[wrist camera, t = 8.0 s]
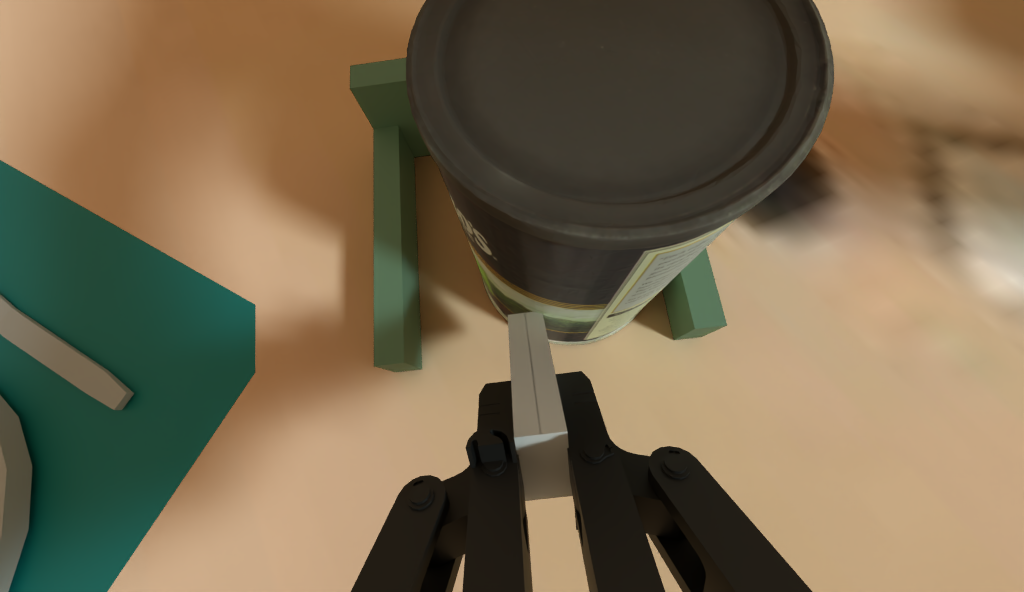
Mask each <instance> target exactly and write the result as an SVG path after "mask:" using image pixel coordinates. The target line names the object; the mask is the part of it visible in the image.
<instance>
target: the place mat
mask: <svg viewBox="0 0 1024 592" xmlns="http://www.w3.org/2000/svg"><path fill="white" fill-rule="evenodd" d="M254 373H255V304H253V303H251V302H249V301H247V300H246V299H244V298H242V297H240V296H239V295H237V294H235V293H233V292H232V291H230V290H228V289H226V288H225V287H223V286H221V285H219V284H217V283H216V282H214V281H212V280H210V279H209V278H207V277H205V276H203V275H202V274H200V273H198V272H196V271H195V270H193V269H191V268H189V267H187V266H186V265H184V264H182V263H180V262H179V261H177V260H175V259H173V258H172V257H170V256H168V255H166V254H165V253H163V252H161V251H159V250H158V249H156V248H154V247H152V246H150V245H149V244H147V243H145V242H143V241H142V240H140V239H138V238H136V237H135V236H133V235H131V234H129V233H128V232H126V231H124V230H122V229H120V228H119V227H117V226H115V225H113V224H112V223H110V222H108V221H106V220H105V219H103V218H101V217H99V216H98V215H96V214H94V213H92V212H90V211H89V210H87V209H85V208H83V207H82V206H80V205H78V204H76V203H75V202H73V201H71V200H69V199H68V198H66V197H64V196H62V195H61V194H59V193H57V192H55V191H53V190H52V189H50V188H48V187H46V186H45V185H43V184H41V183H39V182H38V181H36V180H34V179H32V178H31V177H29V176H27V175H25V174H23V173H22V172H20V171H18V170H16V169H15V168H13V167H11V166H9V165H8V164H6V163H4V162H2V161H1V160H0V592H107V591H108V590H109V588H110V587H111V585H112V584H113V582H114V581H115V579H116V578H117V576H118V575H119V573H120V572H121V570H122V569H123V567H124V566H125V564H126V563H127V562H128V560H129V559H130V557H131V556H132V554H133V553H134V551H135V550H136V548H137V547H138V545H139V544H140V542H141V541H142V539H143V538H144V536H145V535H146V533H147V532H148V530H149V529H150V527H151V526H152V524H153V523H154V522H155V520H156V519H157V517H158V516H159V514H160V513H161V511H162V510H163V508H164V507H165V505H166V504H167V502H168V501H169V499H170V498H171V496H172V495H173V493H174V492H175V490H176V489H177V487H178V486H179V485H180V483H181V482H182V480H183V479H184V477H185V476H186V474H187V473H188V471H189V470H190V468H191V467H192V465H193V464H194V462H195V461H196V459H197V458H198V456H199V455H200V453H201V452H202V450H203V449H204V447H205V446H206V445H207V443H208V442H209V440H210V439H211V437H212V436H213V434H214V433H215V431H216V430H217V428H218V427H219V425H220V424H221V422H222V421H223V419H224V418H225V416H226V415H227V413H228V412H229V410H230V409H231V407H232V406H233V405H234V403H235V402H236V400H237V399H238V397H239V396H240V394H241V393H242V391H243V390H244V388H245V387H246V385H247V384H248V382H249V381H250V379H251V378H252V376H253V375H254Z"/></svg>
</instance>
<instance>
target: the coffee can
mask: <svg viewBox="0 0 1024 592" xmlns="http://www.w3.org/2000/svg"><path fill="white" fill-rule="evenodd" d="M406 84H407V95H408V98H409V103H410V107H411V112H412V116H413V118H414V120H415V123H416V125H417V127H418V130H419V132H420V134H421V137H422V139H423V141H424V143H425V144H426V146H427V148H428V150H429V152H430V154H431V156H432V158H433V159H434V161H435V162H436V164H437V165H438V167H439V169H440V172H441V175H442V177H443V180H444V182H445V184H446V187H447V189H448V191H449V194H450V197H451V200H452V202H453V205H454V207H455V210H456V212H457V215H458V217H459V220H460V222H461V225H462V227H463V230H464V232H465V234H466V237H467V239H468V242H469V244H470V247H471V249H472V252H473V254H474V257H475V259H476V262H477V264H478V267H479V270H480V272H481V275H482V279H483V283H484V286H485V289H486V291H487V293H488V296H489V298H490V300H491V301H492V303H493V304H494V306H495V307H496V309H497V310H498V312H499V313H500V314H501V315H502V316H503V317H504V318H505V319H506V320H507V321H508V315H511V314H519V313H527V312H537V313H542V314H543V318H544V322H545V327H546V332H547V337H548V341H549V343H553V344H561V345H579V344H587V343H592V342H595V341H598V340H601V339H604V338H606V337H609V336H611V335H613V334H614V333H616V332H617V331H619V330H621V329H622V328H624V327H625V326H626V325H627V324H628V323H630V322H631V321H632V320H633V319H634V318H635V317H636V316H637V314H638V313H639V312H640V311H641V310H642V308H643V307H644V306H645V305H646V304H647V303H648V302H649V301H650V300H651V299H653V298H654V297H655V296H656V295H657V294H658V293H659V292H660V291H661V290H662V289H663V288H664V287H665V286H667V285H668V284H669V283H670V281H671V280H673V279H674V278H675V277H676V276H677V275H678V274H679V273H680V272H681V271H682V270H683V269H684V268H685V267H686V266H687V265H688V264H689V263H690V262H691V261H692V260H693V259H695V258H696V257H697V256H698V255H699V254H700V253H701V252H702V251H703V250H704V249H705V248H706V247H707V246H708V245H709V244H710V243H711V242H712V241H713V240H714V239H715V238H716V237H718V236H719V235H720V234H721V233H722V232H723V231H724V230H725V229H726V228H727V227H728V226H729V225H730V224H731V223H732V222H733V221H734V220H735V219H736V218H738V217H740V216H741V215H742V214H744V213H745V212H747V211H749V210H750V209H751V208H753V207H754V206H756V205H757V204H758V203H759V202H761V201H762V200H763V199H765V198H766V197H767V196H768V195H769V194H771V193H772V192H773V191H774V190H776V189H777V188H778V187H779V186H780V185H781V184H782V183H783V182H785V181H786V180H787V179H788V178H789V177H790V176H791V175H792V174H793V172H794V171H795V170H796V169H797V168H798V166H799V165H800V164H801V163H802V161H803V160H804V159H805V158H806V156H807V155H808V153H809V151H810V150H811V148H812V147H813V145H814V143H815V142H816V140H817V138H818V137H819V135H820V133H821V131H822V128H823V125H824V123H825V120H826V117H827V114H828V111H829V108H830V103H831V98H832V94H833V84H834V64H833V55H832V51H831V45H830V41H829V37H828V35H827V31H826V28H825V25H824V22H823V20H822V18H821V16H820V13H819V11H818V9H817V7H816V5H815V3H814V2H813V1H812V0H426V1H425V3H424V5H423V6H422V8H421V10H420V12H419V14H418V16H417V18H416V21H415V24H414V26H413V29H412V31H411V35H410V39H409V43H408V48H407V57H406Z"/></svg>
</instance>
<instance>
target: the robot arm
mask: <svg viewBox="0 0 1024 592" xmlns="http://www.w3.org/2000/svg"><path fill="white" fill-rule="evenodd" d="M508 328H509V348H510V368H511V381H505V382H496V383H488V384H485V386H484V387H483V389H482V391H481V392H480V394H479V410H478V427H477V432H475V433H474V434H473V435H472V436H471V437H470V438H469V440H468V442H467V445H466V451H467V455H468V458H469V462H470V465H469V467H468V468H467V469H465V470H464V471H463V472H461V473H460V474H458V475H456V476H454V477H451V478H449V479H447V480H444V481H441V480H440V479H439V478H437V477H434V476H431V475H428V476H420V477H418V478H415V479H413V480H411V481H410V482H409V483H408V484H406V485H405V486H404V487H403V489H402V490H401V492H400V493H399V495H398V497H397V499H396V501H395V503H394V505H393V507H392V509H391V511H390V513H389V515H388V517H387V519H386V521H385V523H384V525H383V527H382V529H381V531H380V533H379V535H378V537H377V539H376V542H375V544H374V546H373V548H372V550H371V552H370V554H369V556H368V558H367V560H366V562H365V564H364V566H363V568H362V570H361V572H360V574H359V576H358V578H357V580H356V582H355V584H354V586H353V588H352V590H351V592H452V591H453V587H454V584H455V580H456V577H457V574H458V570H459V567H460V563H461V560H462V557H463V555H464V554H465V565H464V580H463V592H533V589H532V575H531V561H530V548H529V534H528V520H527V514H526V508H525V501H529V500H538V499H546V498H556V497H565V496H573V500H574V506H575V518H576V530H578V532H579V537H580V543H581V548H582V554H583V559H584V564H585V570H586V575H587V581H588V586H589V591H590V592H665V590H664V587H663V584H662V581H661V578H660V575H659V572H658V569H657V566H656V563H655V560H654V557H653V554H652V551H651V548H650V545H649V542H648V539H647V536H646V533H647V534H648V535H649V537H650V538H651V540H652V542H653V543H654V545H655V547H656V548H657V550H658V552H659V553H660V555H661V556H662V558H663V560H664V561H665V563H666V565H667V566H668V568H669V570H670V571H671V573H672V575H673V576H674V578H675V580H676V581H677V583H678V585H679V586H680V588H681V590H682V591H683V592H812V591H811V590H810V588H809V587H808V586H807V585H806V584H805V583H804V582H803V580H802V579H801V578H800V577H799V576H798V575H797V573H796V572H795V571H794V570H793V569H792V568H791V567H790V565H789V564H788V563H787V562H786V561H785V560H784V559H783V557H782V556H781V555H780V554H779V553H778V552H777V550H776V549H775V548H774V547H773V546H772V545H771V544H770V542H769V541H768V540H767V539H766V538H765V537H764V536H763V534H762V533H761V532H760V531H759V530H758V529H757V527H756V526H755V525H754V524H753V523H752V522H751V521H750V519H749V518H748V517H747V516H746V515H745V514H744V512H743V511H742V510H741V509H740V508H739V507H738V506H737V504H736V503H735V502H734V501H733V500H732V499H731V498H730V496H729V495H728V494H727V493H726V492H725V491H724V489H723V488H722V487H721V486H720V485H719V484H718V483H717V481H716V480H715V479H714V478H713V477H712V476H711V475H710V473H709V472H708V471H707V470H706V469H705V468H704V466H703V465H702V464H701V463H700V462H699V461H698V460H697V459H696V458H695V457H694V456H693V455H692V454H691V453H689V452H687V451H685V450H683V449H681V448H677V447H671V446H667V447H661V448H659V449H657V450H655V451H653V452H652V454H651V456H644V455H638V454H633V453H629V452H626V451H624V450H622V449H620V448H619V447H617V446H616V445H615V444H614V443H613V442H612V441H611V440H610V438H609V436H608V433H607V430H606V427H605V424H604V421H603V418H602V415H601V412H600V409H599V406H598V403H597V400H596V396H595V393H594V390H593V387H592V384H591V381H590V379H589V378H588V377H587V376H586V375H585V374H584V373H583V372H582V371H579V372H571V373H563V374H555V370H554V365H553V361H552V356H551V351H550V346H549V341H548V337H547V332H546V327H545V322H544V318H543V314H542V313H537V312H527V313H519V314H511V315H508Z"/></svg>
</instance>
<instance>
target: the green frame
mask: <svg viewBox="0 0 1024 592" xmlns="http://www.w3.org/2000/svg"><path fill="white" fill-rule="evenodd" d="M350 90H351V91H352V93H353V95H354V96H355V98H356V100H357V101H358V103H359V105H360V107H361V108H362V110H363V112H364V113H365V115H366V117H367V119H368V120H369V122H370V124H371V125H372V127H373V129H374V366H375V367H378V368H382V369H386V370H389V371H393V372H402V371H411V370H420V369H422V354H421V327H420V301H419V274H418V247H417V221H416V194H415V167H414V157H420V156H427V155H431V154H430V152H429V150H428V148H427V146H426V144H425V143H424V141H423V139H422V137H421V134H420V132H419V130H418V127H417V125H416V123H415V120H414V118H413V116H412V112H411V107H410V103H409V98H408V95H407V84H406V58H401V59H394V60H387V61H380V62H374V63H367V64H360V65H353V66H350ZM662 291H663V295H664V299H665V304H666V308H667V312H668V317H669V321H670V325H671V330H672V334H673V338H674V340H679V339H688V338H697V337H703V336H705V335H707V334H709V333H711V332H713V331H716V330H718V329H720V328H722V327H724V326H727V323H726V320H725V316H724V312H723V309H722V305H721V301H720V298H719V294H718V290H717V287H716V283H715V279H714V276H713V272H712V268H711V265H710V261H709V258H708V254H707V250H706V248H705V249H704V250H703V251H702V252H701V253H700V254H699V255H698V256H697V257H696V258H695V259H693V260H692V261H691V262H690V263H689V264H688V265H687V266H686V267H685V268H684V269H683V270H682V271H681V272H680V273H679V274H678V275H677V276H676V277H675V278H674V279H673V280H671V281H670V283H669V284H668V285H667V286H665V287H664V288H663V289H662Z"/></svg>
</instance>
